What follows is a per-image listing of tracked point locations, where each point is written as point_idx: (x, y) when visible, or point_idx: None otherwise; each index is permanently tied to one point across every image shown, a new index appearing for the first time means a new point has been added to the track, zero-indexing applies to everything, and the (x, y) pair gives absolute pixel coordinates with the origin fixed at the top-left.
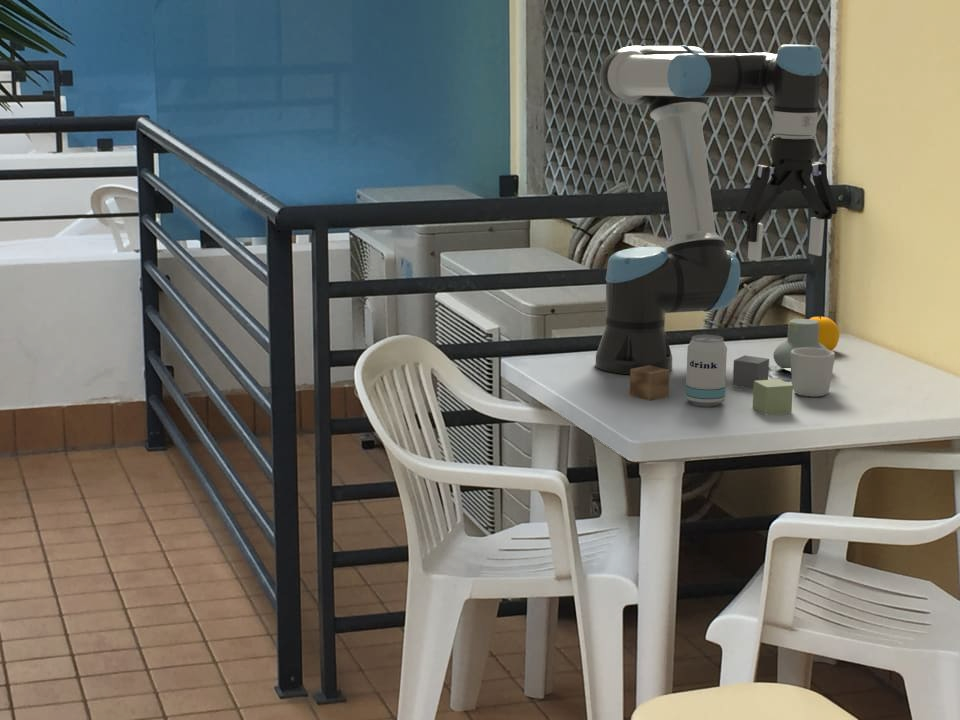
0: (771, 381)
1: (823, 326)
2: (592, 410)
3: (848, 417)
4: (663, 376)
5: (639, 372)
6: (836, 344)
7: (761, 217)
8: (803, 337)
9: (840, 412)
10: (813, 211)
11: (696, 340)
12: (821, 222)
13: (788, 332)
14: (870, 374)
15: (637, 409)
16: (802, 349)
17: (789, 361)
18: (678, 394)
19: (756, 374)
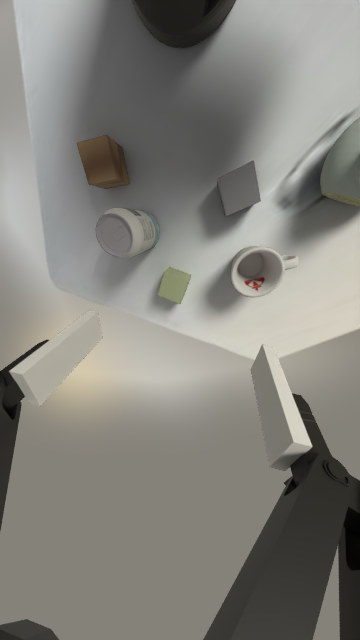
0: (175, 284)
1: None
2: (43, 189)
3: (207, 326)
4: (110, 181)
5: (83, 162)
6: None
7: (13, 422)
8: None
9: (214, 315)
10: (303, 479)
11: (97, 236)
12: (269, 455)
13: None
14: None
15: (81, 211)
16: (266, 252)
17: (321, 181)
18: (142, 183)
19: (225, 214)
